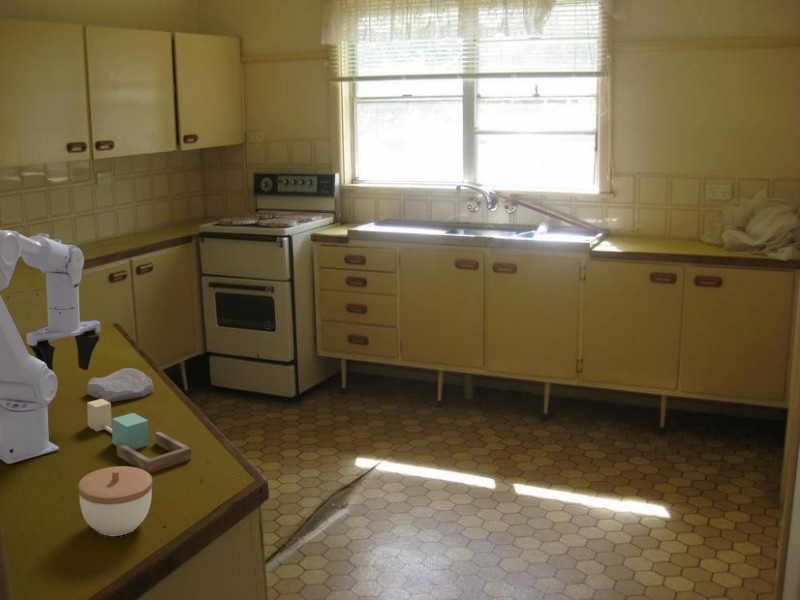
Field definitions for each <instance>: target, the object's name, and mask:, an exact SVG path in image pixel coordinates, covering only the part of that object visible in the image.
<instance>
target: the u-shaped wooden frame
mask: <svg viewBox="0 0 800 600" xmlns="http://www.w3.org/2000/svg"><path fill="white" fill-rule="evenodd" d="M154 444H155V445H156V446H159V447H161V448H162V449H164V450H166V451H168V452H166V453H164V454H160V455H158V456H154V457H151V458H149V457H147V456H146V455H143V454H142V453H140V452H138V451H136V449H135V450H133V449H131V448H130V447H128V446H126V445H124V444H123V443H120V444H117V446H116V456H117V457H118V458H120V459H122V460H124V461H125V462H127V463H129V464H130V465H132V466H133V467H135V468H139V469H142V470H144V471H146V472H148V473H149V474H152V473H156V472H158V471H160V470H161V471H162V470H164V469H166V468H170V467H172V466H175V465H178V464H182V463H185V462H188V461H190V460H192V448H191V447H190V446H188V445H186V444H184V443H182V442H180V441H178V440H177V439H174V438H173V437H171V436H169V435H167V434H165V433H163V432H161V431H156V432H155V433H154Z"/></svg>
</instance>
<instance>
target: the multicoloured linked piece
mask: <svg viewBox="0 0 800 600" xmlns="http://www.w3.org/2000/svg"><path fill="white" fill-rule="evenodd" d="M111 403H112V402H108V401H106V400H104V399H99V398H98V399H95V400H91V401H87V403H86V407H87V408H86V409H87V410H86V411H87V412H86V413H87V427H88V426H89V427H88V428H90V429H91V430H93V429H94V431H95V432H99V431H103V430H105V431H107V432H109V433H111V435H112V438H111V439H112V444H113V445H114V446H116V447H117V444H120V443H123V444H124V445H126V446H128V447H130V448H131V449H133V450H135V451H136V450H139V449H141V448H144V447H147V446H149V442H150V441H149V440H150V439H149V438H150V437H149V420H148V419H146V418H144V417H142V416H140V415H138V414H137V413H134V412H131V413H127V414H124V415H120V416H116V417H114V418H112V404H111Z"/></svg>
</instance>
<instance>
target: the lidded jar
mask: <svg viewBox="0 0 800 600" xmlns="http://www.w3.org/2000/svg"><path fill="white" fill-rule="evenodd" d="M77 485H78V489H77V490H78V494H79V506H80V511H81V513H82V516H83V518H84V521H85V522H86V524H88V525H89V527H91V528H92V529H93V530H94V531H95V532H97V531H98V532H99V533H101V534H104V535H109V536H117V535H118V536H119V535H123V534H127V533H129V532H132V531H133V532H134V530H135V529H136V530H137V528H138V526H140V525H141V524H142V523H143V521H144V520H146V519H145V518H146V517H147V515H148V513H149V511H150V508H151V504H152V498H153V497H152V495H153V494H152V492H153V491H152V490H153V489H152V488H153V477H152V475H151V473H148V472H146V471H144V470H142V469H139V468H137V467H135V466H124V465H123V466H119V465H118V466H109V467H105V468H104V467H103V468H100V469H96V470H95V471H91V472H90V473H87V474H86V475H84V476H83V477H82V478H81V479H80V481H79V483H78V484H77ZM136 530H135V531H136ZM133 532H132V533H133Z"/></svg>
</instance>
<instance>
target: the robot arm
mask: <svg viewBox="0 0 800 600" xmlns="http://www.w3.org/2000/svg"><path fill="white" fill-rule="evenodd" d="M62 242H63V241H62V240H61V239H58V238H57V239H56V238H54V239H51V238H50V235H49V234H46V233H41V232H40V233H39V232H38V234H37V235H32V236H30V237H28V236H25V235H23V234H20V233H19V231H16V230H9V229H8V230H7V229H6V230H5V229H0V292H1V291H2V290H4V289H6V288H8V287H9V285H10V282H11V279H12V277H13V274H14V270H15V267H16V265H17V262H18V259H20V257H21V259H22V260H23V262H24V263H25V264H26V265H27V266H29V267H31V268H35V269H38V270H39V269H40V272H41V273H42V274H45V278H46V279H45V283H46V300H47V301H46V302H47V303H46V304H47V325H48V326H46V327H44V328H41V329H38V330H36V331H32V332H28V333H25V336H26V337H25V339H26V340H25V341H26V344H25V343H24V341H23V339H22V336H21V334H20V333H19V330H18V329H17V326H16V324H15V322H14V320H13V318H12V317H11V314H10V312H9V310H8V308H7V305H6V304H5V302H4V300H3V297H2V295H1V294H0V460H1V461H2V462H4V463H5V464H7V465H9V464H10V465H11V464H14V463H17V462H21V461H24V460H29V459H31V458H35V457H39V456H42V455H45V454H49V453H51V452H56V451H59V449H60V447H59V446H58V445H56V444H55V443H53V442H51V441H50V440H49V439H50V437H49V416H48V415H49V413H48V405H49V404H50V403H51V402H52V401H53V399H54V398H55V397H56V395H57V391H58V378H57V376H56V374H55V372H54V366H53V362H54V354H55V349H56V347H55V346H52V345H51V343H49V342H51V341H56V340H60V339H66V338H70V337H74V338H75V342H76V347H77V360H78V361H77V363H78V368H79V369H80V370H81V369H82V370H84V371H88V369H89V365H90V362H91V357H92V354H93V351H94V350H95V347H96V345H97V344H98V342H99V341H100V334H98V332H101V322H100V321H97V320H95V319H94V320H87V321H81V319H80V317H81V315H80V288H79V285H80V283H81V281H82V271H83V268H84V264H85V263H84V262H85V257H84V254H83V251H82V250H81V248H80V247H78V246H77V245H74V244H64V243H62ZM26 345H28V346H29V348H30V349H31V351H32V352H33V353H34V355H35V356H33V355H31V354H30V353H29V351H28V349H27V347H26Z"/></svg>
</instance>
